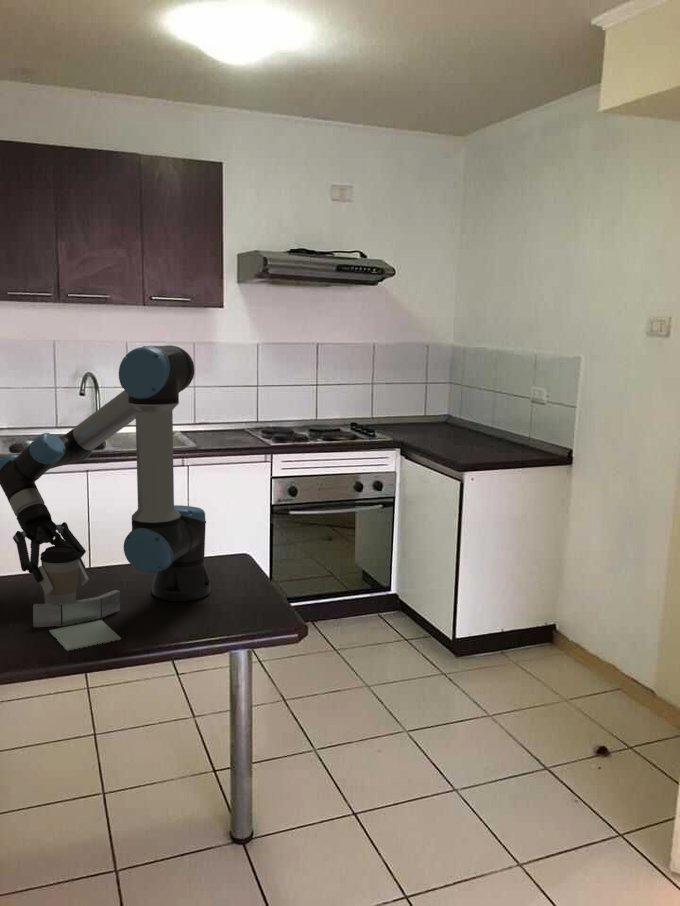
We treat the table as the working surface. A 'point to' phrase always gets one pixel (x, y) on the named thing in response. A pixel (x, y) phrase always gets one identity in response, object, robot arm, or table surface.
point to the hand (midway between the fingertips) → (67, 586)
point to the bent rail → (76, 610)
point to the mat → (84, 635)
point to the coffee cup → (61, 573)
